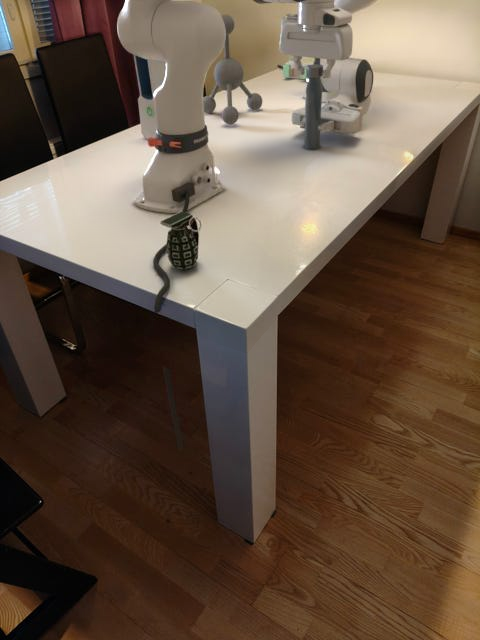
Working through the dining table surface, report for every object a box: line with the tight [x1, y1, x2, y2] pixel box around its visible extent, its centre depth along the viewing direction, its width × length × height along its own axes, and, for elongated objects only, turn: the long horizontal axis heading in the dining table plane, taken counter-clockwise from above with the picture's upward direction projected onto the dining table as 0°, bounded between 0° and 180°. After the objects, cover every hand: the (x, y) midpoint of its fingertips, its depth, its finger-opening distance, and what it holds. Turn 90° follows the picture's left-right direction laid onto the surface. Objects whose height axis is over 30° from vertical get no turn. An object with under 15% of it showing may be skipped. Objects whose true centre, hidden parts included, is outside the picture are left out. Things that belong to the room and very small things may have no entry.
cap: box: [306, 64, 323, 78], centre depth 128 cm, size 4×4×2 cm
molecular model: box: [203, 13, 263, 125], centre depth 160 cm, size 24×22×30 cm
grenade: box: [159, 211, 202, 271], centre depth 88 cm, size 7×6×10 cm
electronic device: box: [133, 54, 166, 140], centre depth 143 cm, size 12×8×30 cm, turn 47°
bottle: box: [303, 77, 323, 151], centre depth 134 cm, size 4×4×20 cm
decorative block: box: [282, 57, 315, 80], centre depth 211 cm, size 26×6×20 cm
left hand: (313, 76), depth 129 cm, fingers open, 7 cm apart
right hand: (311, 127), depth 136 cm, fingers closed on bottle, 4 cm apart
